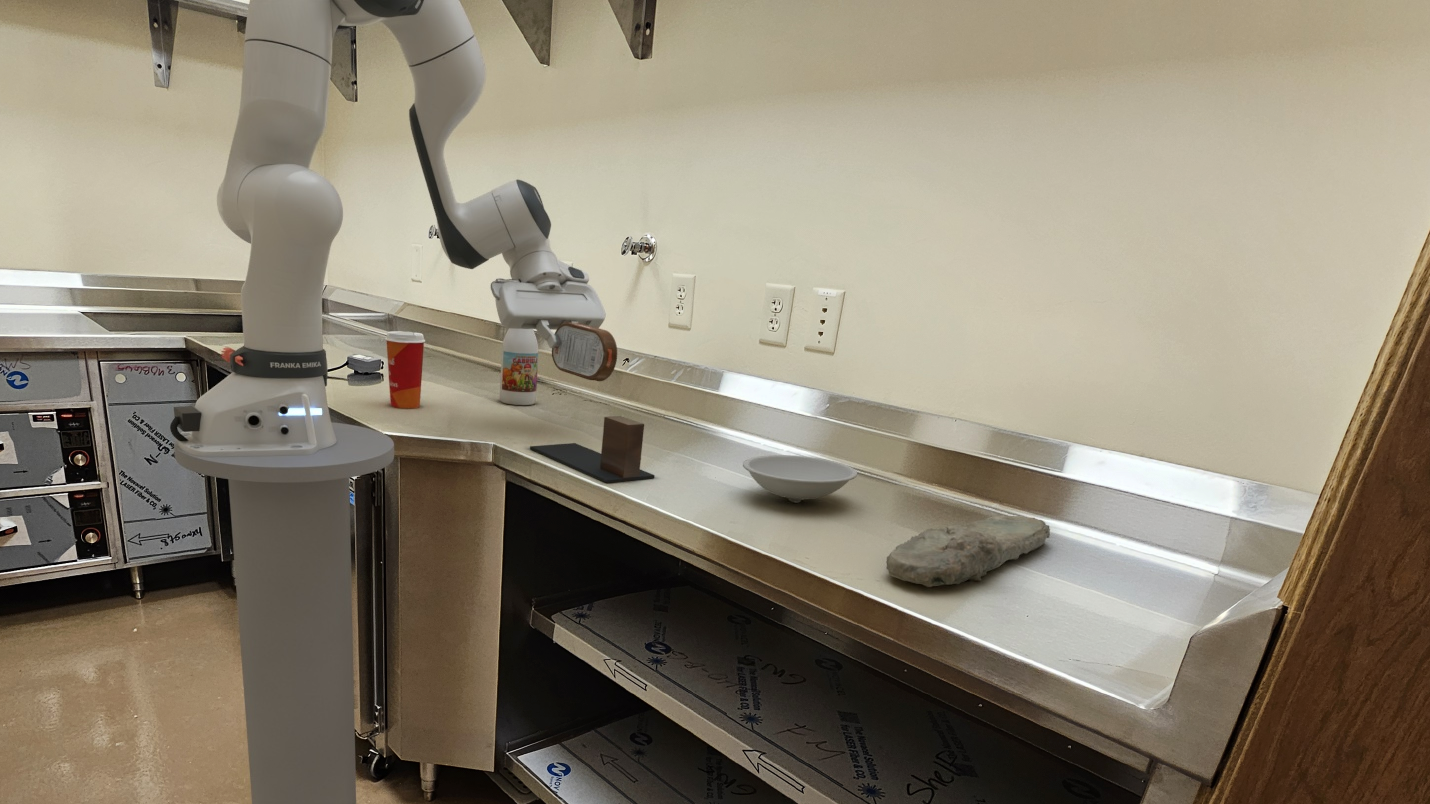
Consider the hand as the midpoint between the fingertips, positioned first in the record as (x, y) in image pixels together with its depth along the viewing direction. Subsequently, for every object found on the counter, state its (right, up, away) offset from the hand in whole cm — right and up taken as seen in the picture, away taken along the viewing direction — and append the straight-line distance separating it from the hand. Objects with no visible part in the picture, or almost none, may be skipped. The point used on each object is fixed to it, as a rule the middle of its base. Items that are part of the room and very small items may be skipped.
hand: (565, 346), depth 144 cm
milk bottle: (-11, -3, +35) cm, 37 cm away
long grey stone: (+51, -37, -41) cm, 75 cm away
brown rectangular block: (+9, -23, -17) cm, 30 cm away
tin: (+2, -6, -2) cm, 7 cm away
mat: (+4, -21, -10) cm, 24 cm away
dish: (+34, -28, -22) cm, 49 cm away
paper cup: (-33, -6, +22) cm, 40 cm away
